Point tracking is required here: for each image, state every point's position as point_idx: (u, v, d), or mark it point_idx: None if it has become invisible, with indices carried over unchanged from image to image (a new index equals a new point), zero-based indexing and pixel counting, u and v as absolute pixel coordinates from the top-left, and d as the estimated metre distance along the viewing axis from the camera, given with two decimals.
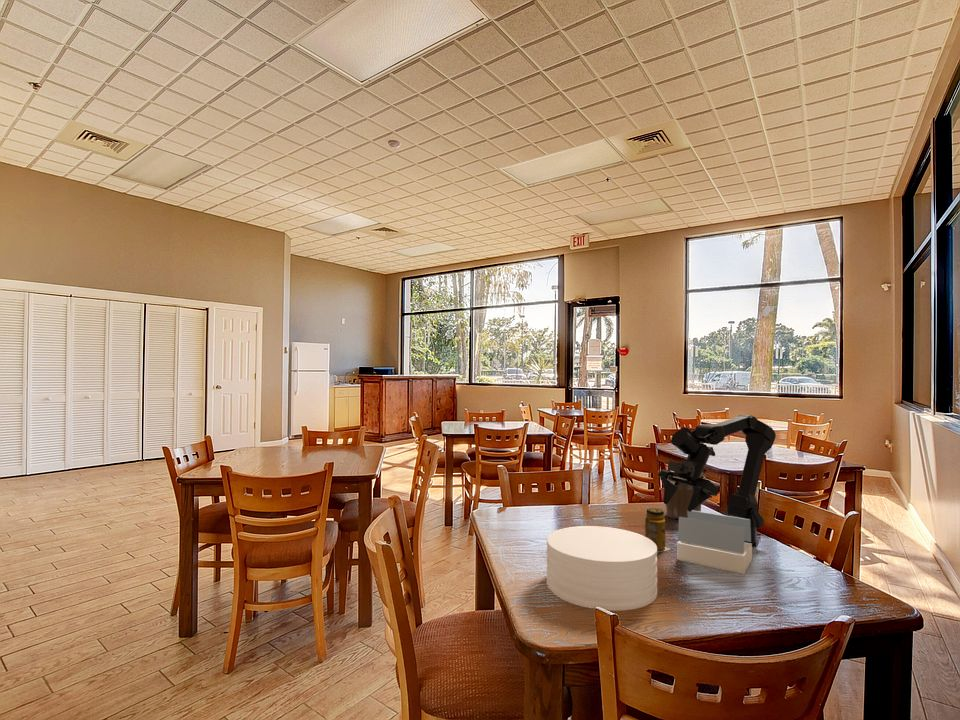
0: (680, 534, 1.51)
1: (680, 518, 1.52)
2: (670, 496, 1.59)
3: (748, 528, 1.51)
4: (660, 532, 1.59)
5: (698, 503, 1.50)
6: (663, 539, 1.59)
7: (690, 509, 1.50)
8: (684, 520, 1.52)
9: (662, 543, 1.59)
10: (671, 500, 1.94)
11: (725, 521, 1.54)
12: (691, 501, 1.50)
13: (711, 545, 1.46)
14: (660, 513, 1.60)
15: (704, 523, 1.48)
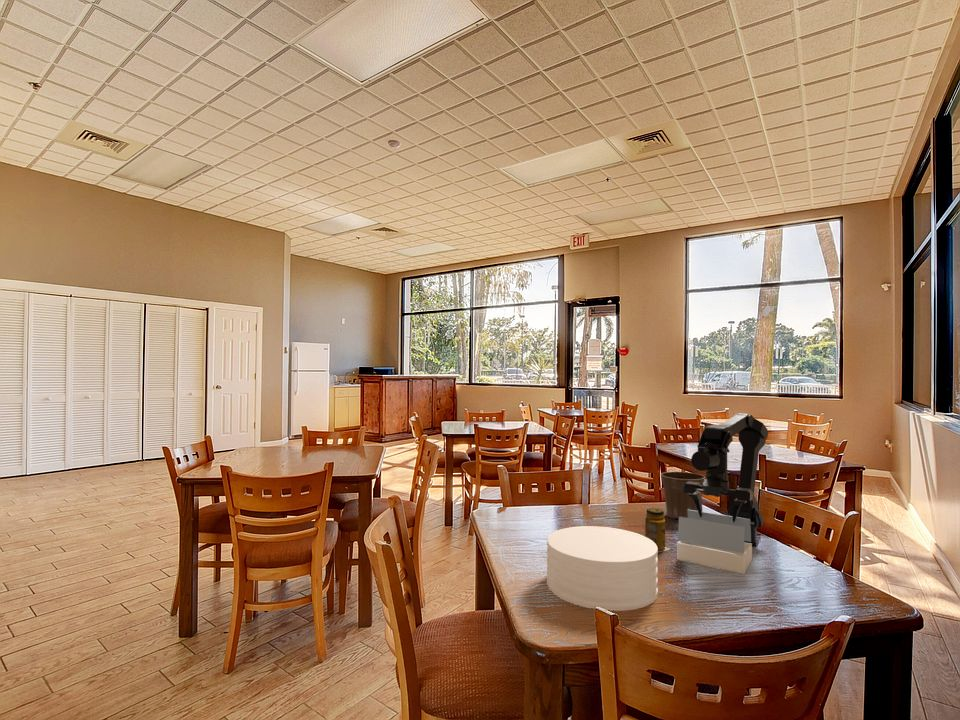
0: (680, 534, 1.51)
1: (680, 518, 1.52)
2: (701, 506, 1.58)
3: (748, 528, 1.51)
4: (660, 532, 1.59)
5: (738, 510, 1.52)
6: (663, 539, 1.59)
7: None
8: (684, 520, 1.52)
9: (662, 543, 1.59)
10: (671, 500, 1.94)
11: (725, 521, 1.54)
12: (734, 513, 1.51)
13: (711, 545, 1.46)
14: (660, 513, 1.60)
15: (704, 523, 1.48)
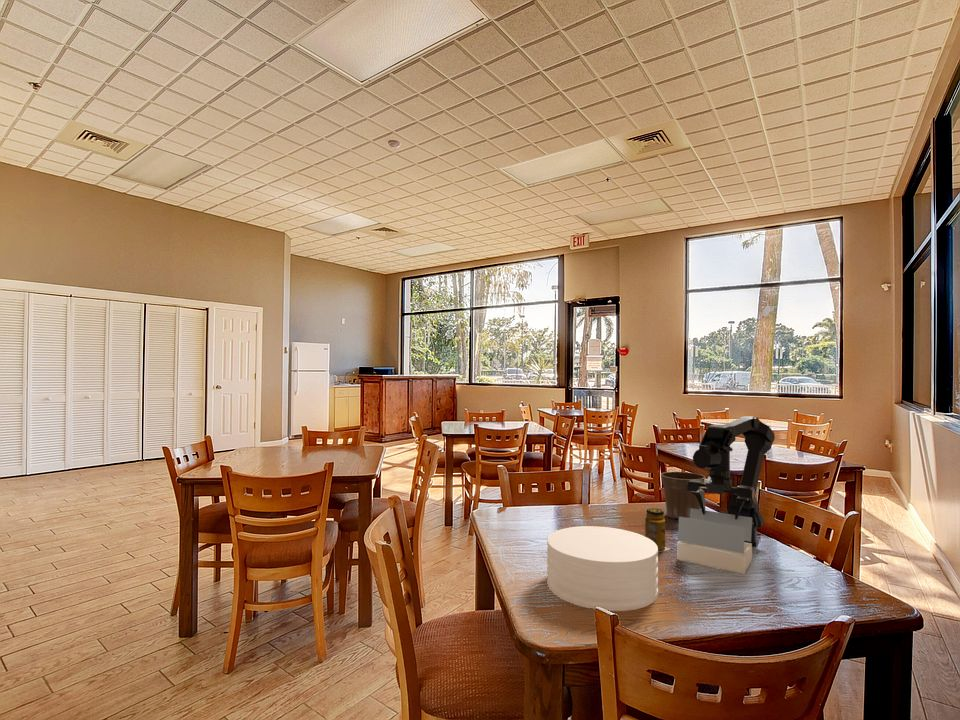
0: (680, 534, 1.51)
1: (680, 518, 1.52)
2: (704, 504, 1.61)
3: (749, 527, 1.53)
4: (660, 532, 1.59)
5: (741, 508, 1.55)
6: (663, 539, 1.59)
7: (737, 517, 1.55)
8: (684, 520, 1.52)
9: (662, 543, 1.59)
10: (671, 500, 1.94)
11: (727, 519, 1.57)
12: (737, 511, 1.54)
13: (711, 545, 1.46)
14: (660, 513, 1.60)
15: (704, 523, 1.48)
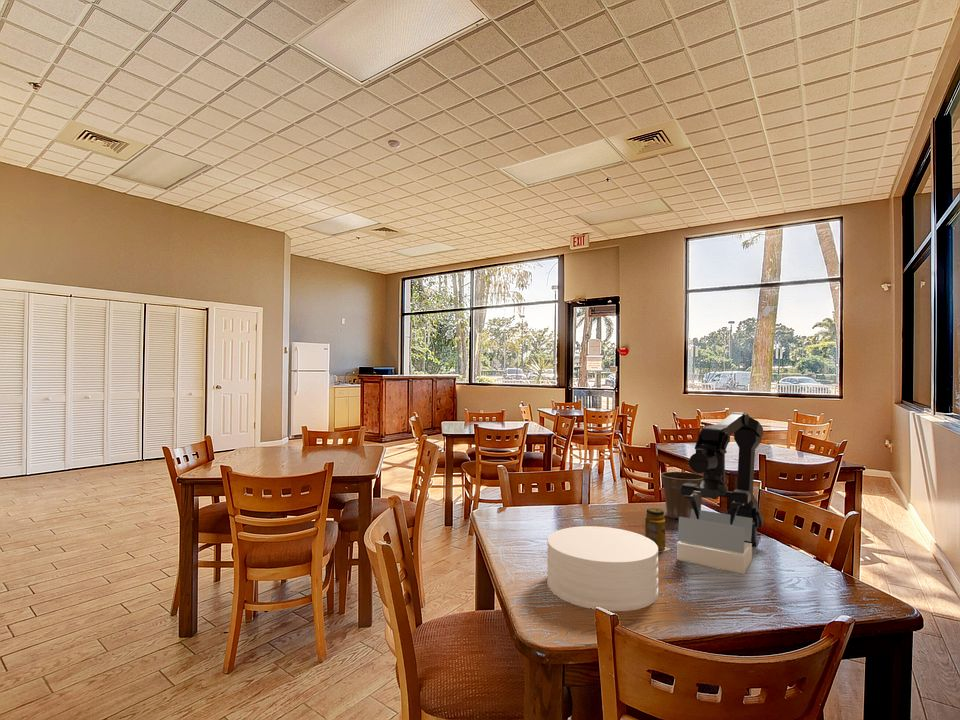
0: (680, 534, 1.51)
1: (680, 518, 1.52)
2: (698, 508, 1.55)
3: (749, 527, 1.53)
4: (660, 532, 1.59)
5: (736, 513, 1.50)
6: (663, 539, 1.59)
7: (732, 522, 1.49)
8: (684, 520, 1.52)
9: (662, 543, 1.59)
10: (671, 500, 1.94)
11: (727, 520, 1.57)
12: (732, 516, 1.48)
13: (711, 545, 1.46)
14: (660, 513, 1.60)
15: (704, 523, 1.48)
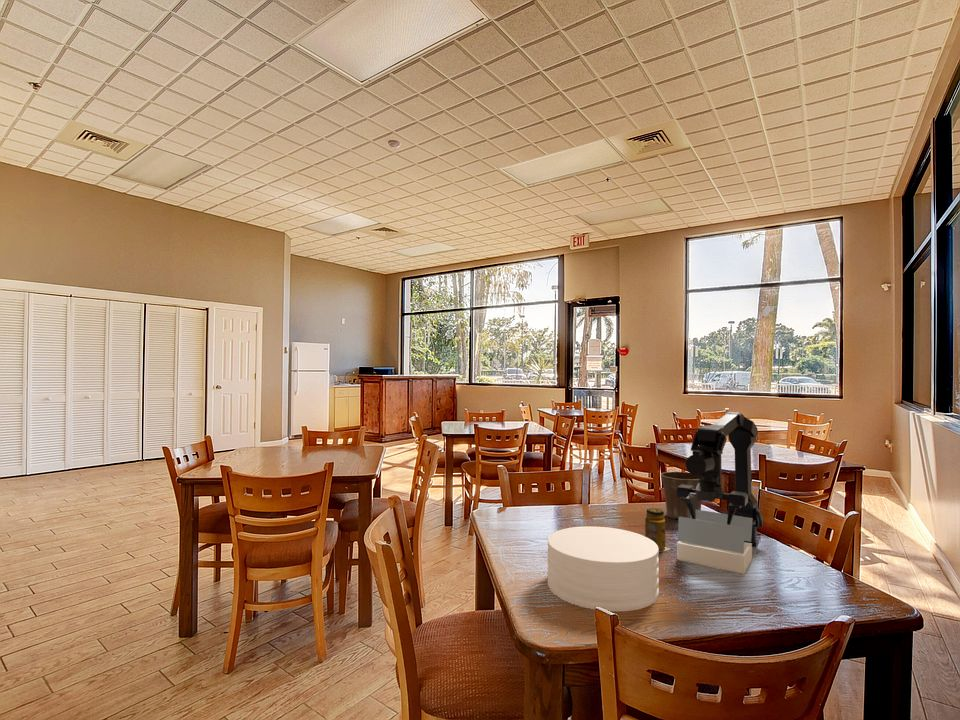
0: (680, 534, 1.51)
1: (680, 518, 1.52)
2: (695, 510, 1.52)
3: (749, 527, 1.53)
4: (660, 532, 1.59)
5: (733, 515, 1.46)
6: (663, 539, 1.59)
7: None
8: (683, 520, 1.51)
9: (662, 543, 1.59)
10: (671, 500, 1.94)
11: None
12: (729, 518, 1.44)
13: (711, 545, 1.46)
14: (660, 513, 1.60)
15: (704, 523, 1.48)
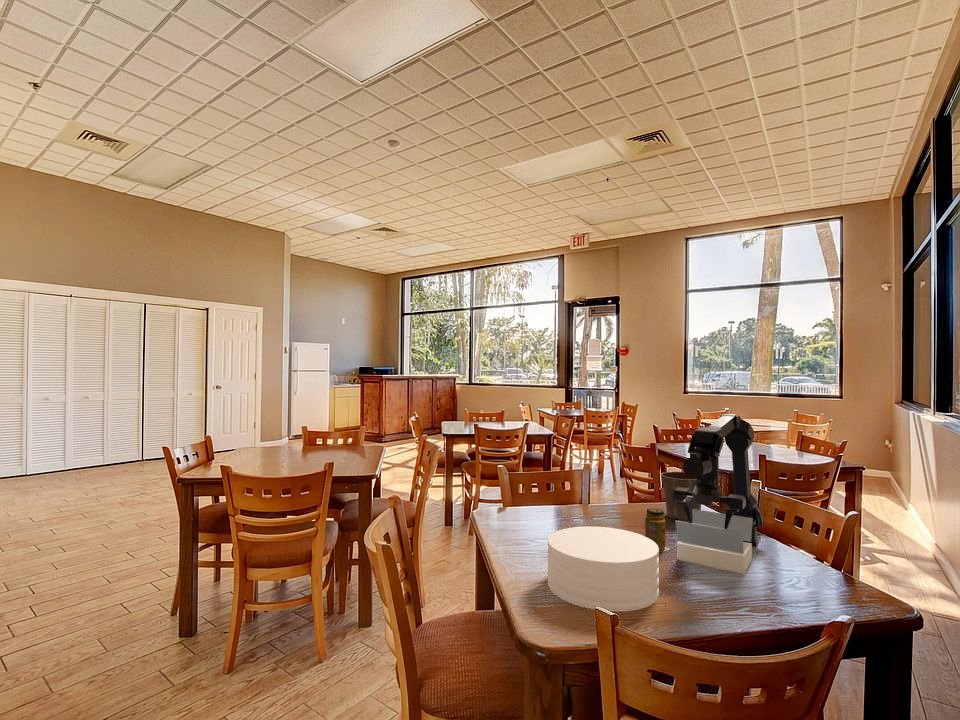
0: (679, 536, 1.51)
1: (677, 522, 1.49)
2: (691, 514, 1.49)
3: (749, 527, 1.53)
4: (660, 532, 1.59)
5: (730, 519, 1.43)
6: (663, 539, 1.59)
7: None
8: (680, 524, 1.49)
9: (662, 543, 1.59)
10: (671, 500, 1.94)
11: None
12: (726, 522, 1.41)
13: (711, 546, 1.46)
14: (660, 513, 1.60)
15: (701, 527, 1.46)
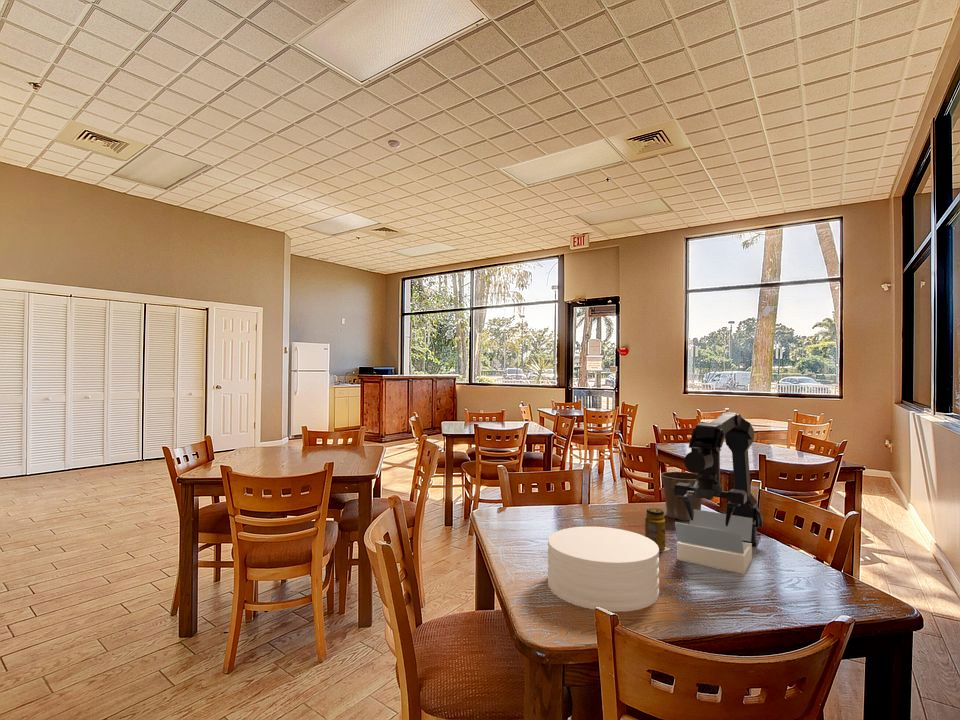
0: (679, 536, 1.50)
1: (676, 524, 1.49)
2: (692, 509, 1.48)
3: (749, 527, 1.53)
4: (660, 532, 1.59)
5: (732, 513, 1.42)
6: (663, 539, 1.59)
7: None
8: (680, 526, 1.48)
9: (662, 543, 1.59)
10: (671, 500, 1.94)
11: None
12: (727, 517, 1.41)
13: (711, 546, 1.46)
14: (660, 513, 1.60)
15: (700, 529, 1.45)
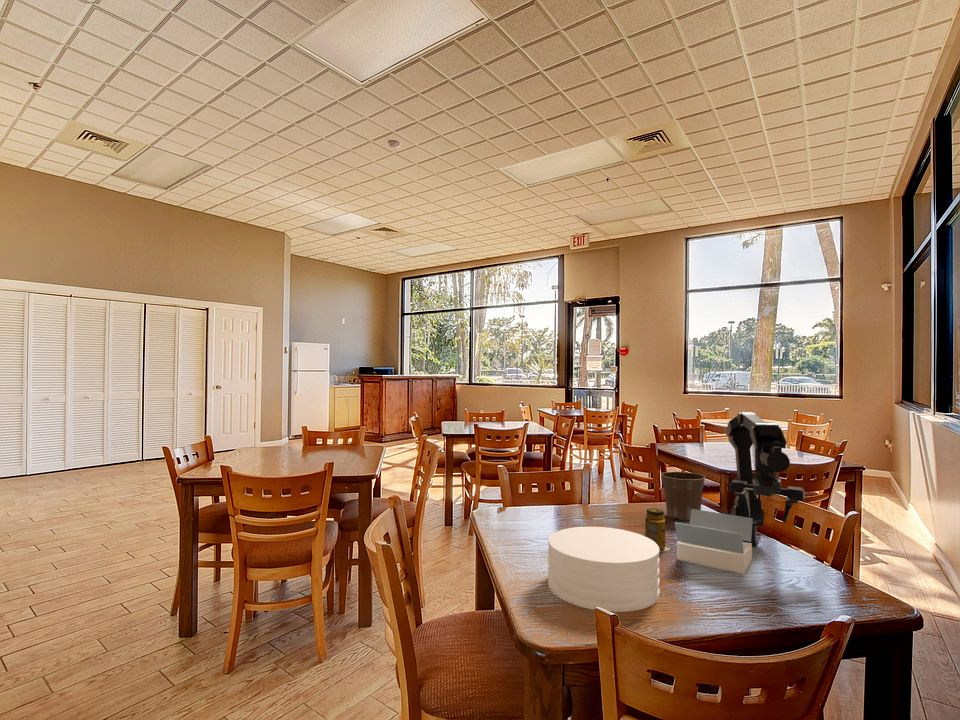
0: (679, 536, 1.50)
1: (676, 524, 1.49)
2: (749, 506, 1.52)
3: (749, 527, 1.53)
4: (660, 532, 1.59)
5: None
6: (663, 539, 1.59)
7: None
8: (680, 526, 1.48)
9: (662, 543, 1.59)
10: (671, 500, 1.94)
11: (727, 520, 1.57)
12: (786, 513, 1.45)
13: (711, 546, 1.46)
14: (660, 513, 1.60)
15: (700, 529, 1.45)
